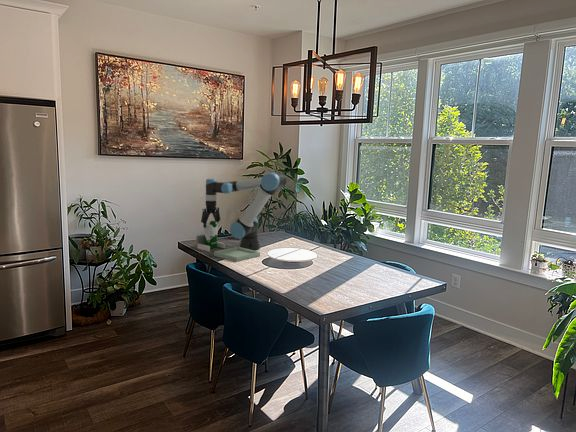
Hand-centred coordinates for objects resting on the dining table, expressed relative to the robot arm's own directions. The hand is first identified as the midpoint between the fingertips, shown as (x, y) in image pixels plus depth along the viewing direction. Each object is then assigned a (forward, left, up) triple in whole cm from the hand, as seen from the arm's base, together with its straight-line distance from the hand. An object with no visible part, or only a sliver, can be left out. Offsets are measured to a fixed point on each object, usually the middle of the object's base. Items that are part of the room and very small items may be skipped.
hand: (210, 231), depth 305 cm
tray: (-30, +2, -12) cm, 33 cm away
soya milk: (0, 0, -13) cm, 13 cm away
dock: (-1, 0, -12) cm, 12 cm away
